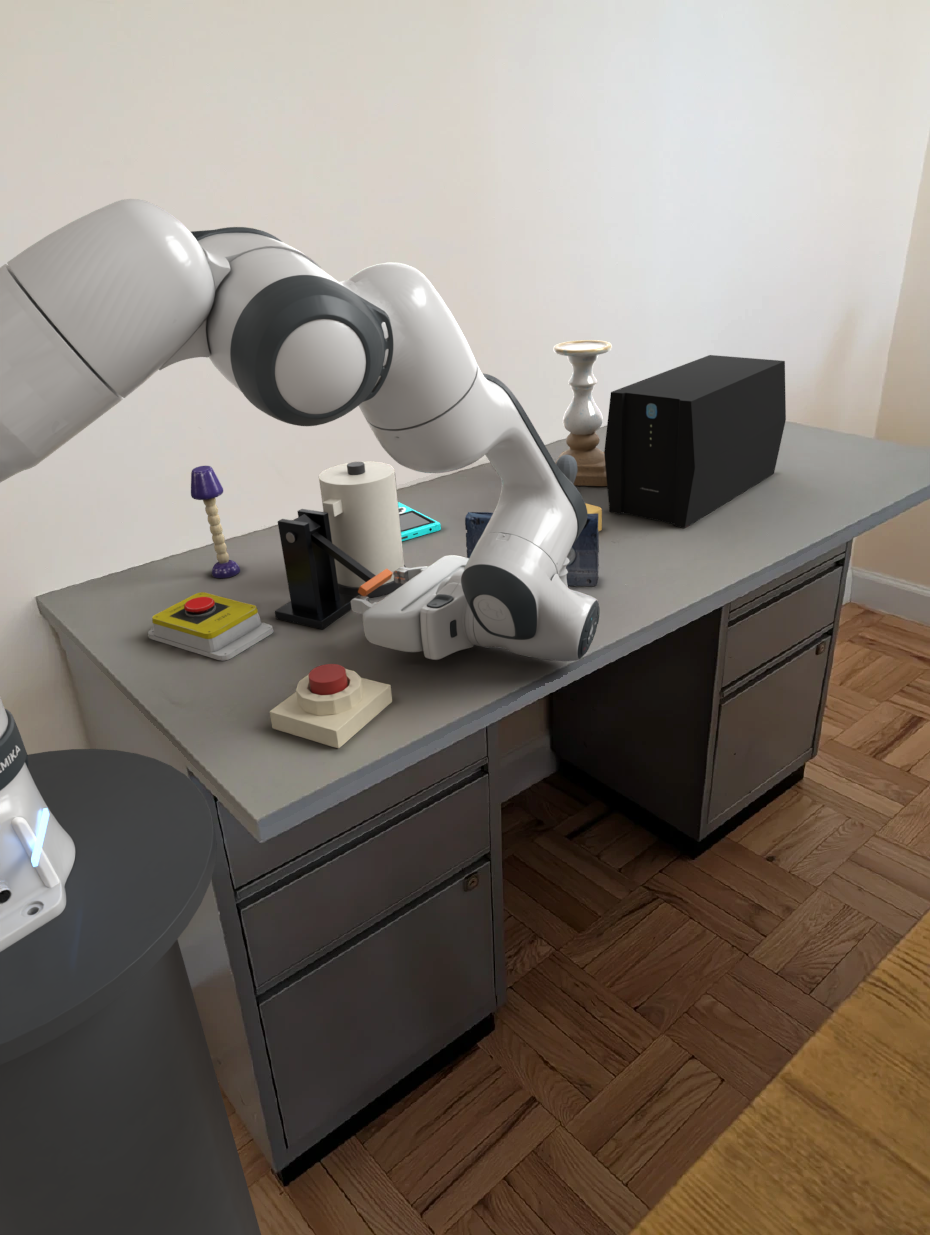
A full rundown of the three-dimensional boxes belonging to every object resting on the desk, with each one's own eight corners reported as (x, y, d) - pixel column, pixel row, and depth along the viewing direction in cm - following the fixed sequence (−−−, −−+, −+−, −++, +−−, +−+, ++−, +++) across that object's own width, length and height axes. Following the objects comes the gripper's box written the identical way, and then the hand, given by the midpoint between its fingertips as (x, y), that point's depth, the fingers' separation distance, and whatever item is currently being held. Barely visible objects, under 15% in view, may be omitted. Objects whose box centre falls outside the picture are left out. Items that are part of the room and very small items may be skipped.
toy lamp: (228, 581, 134) (206, 473, 126) (202, 578, 135) (179, 472, 128) (245, 568, 137) (225, 463, 130) (220, 565, 139) (199, 462, 132)
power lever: (389, 582, 117) (394, 569, 116) (362, 601, 113) (368, 587, 111) (308, 523, 120) (313, 509, 119) (279, 538, 116) (284, 524, 114)
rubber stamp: (533, 525, 146) (531, 453, 141) (557, 515, 150) (556, 445, 144) (578, 539, 139) (578, 465, 134) (603, 529, 143) (603, 456, 137)
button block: (338, 748, 93) (333, 716, 91) (272, 728, 97) (266, 697, 95) (392, 701, 100) (389, 670, 98) (328, 684, 104) (324, 654, 103)
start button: (332, 699, 94) (330, 685, 94) (303, 691, 96) (300, 677, 96) (355, 682, 97) (353, 668, 97) (325, 674, 99) (323, 660, 99)
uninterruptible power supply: (603, 510, 150) (604, 391, 141) (702, 458, 172) (708, 352, 163) (691, 529, 140) (698, 402, 131) (784, 472, 162) (795, 359, 153)
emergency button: (192, 580, 123) (271, 600, 116) (198, 609, 125) (276, 630, 118) (137, 607, 117) (218, 630, 109) (145, 637, 119) (224, 662, 111)
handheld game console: (395, 505, 159) (395, 498, 159) (443, 529, 147) (442, 522, 146) (345, 518, 154) (344, 511, 154) (390, 545, 142) (389, 537, 142)
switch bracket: (358, 604, 123) (346, 510, 117) (322, 629, 117) (307, 531, 111) (312, 595, 127) (298, 503, 121) (275, 618, 121) (258, 523, 115)
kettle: (373, 607, 122) (358, 483, 114) (310, 594, 127) (291, 475, 119) (428, 568, 133) (418, 452, 125) (368, 557, 138) (354, 445, 130)
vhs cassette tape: (599, 579, 126) (599, 512, 122) (597, 587, 123) (598, 520, 119) (471, 575, 130) (467, 510, 125) (467, 583, 127) (463, 518, 123)
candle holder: (608, 486, 161) (609, 350, 150) (548, 484, 164) (545, 351, 153) (616, 468, 170) (618, 338, 160) (559, 466, 173) (557, 339, 163)
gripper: (508, 551, 115) (417, 537, 121) (423, 618, 99) (324, 597, 106) (509, 596, 118) (421, 579, 124) (428, 667, 102) (331, 644, 108)
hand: (376, 588), depth 115 cm, fingers open, 8 cm apart
